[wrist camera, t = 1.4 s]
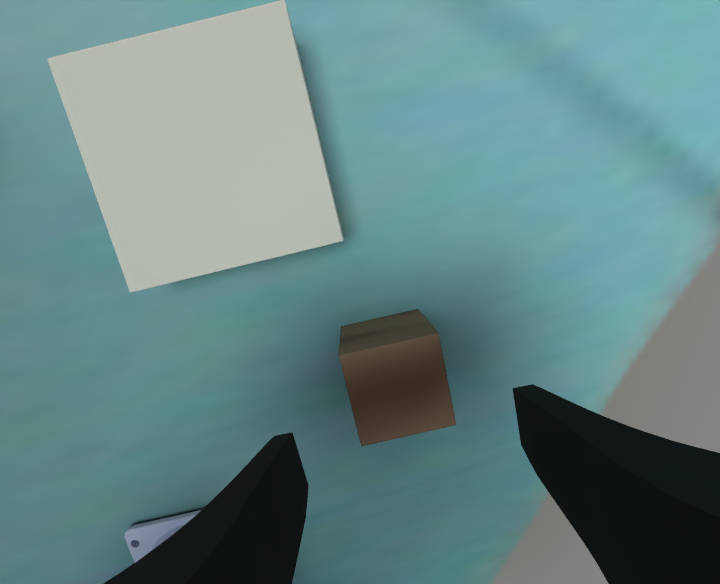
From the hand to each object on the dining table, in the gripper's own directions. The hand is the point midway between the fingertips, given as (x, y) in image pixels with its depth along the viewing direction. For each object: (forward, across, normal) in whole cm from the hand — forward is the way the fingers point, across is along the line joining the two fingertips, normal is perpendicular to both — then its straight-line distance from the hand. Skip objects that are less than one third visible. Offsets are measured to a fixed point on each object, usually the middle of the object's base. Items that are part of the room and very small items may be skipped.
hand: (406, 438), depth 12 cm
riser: (+10, +6, -11) cm, 16 cm away
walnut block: (+10, 0, +1) cm, 10 cm away
